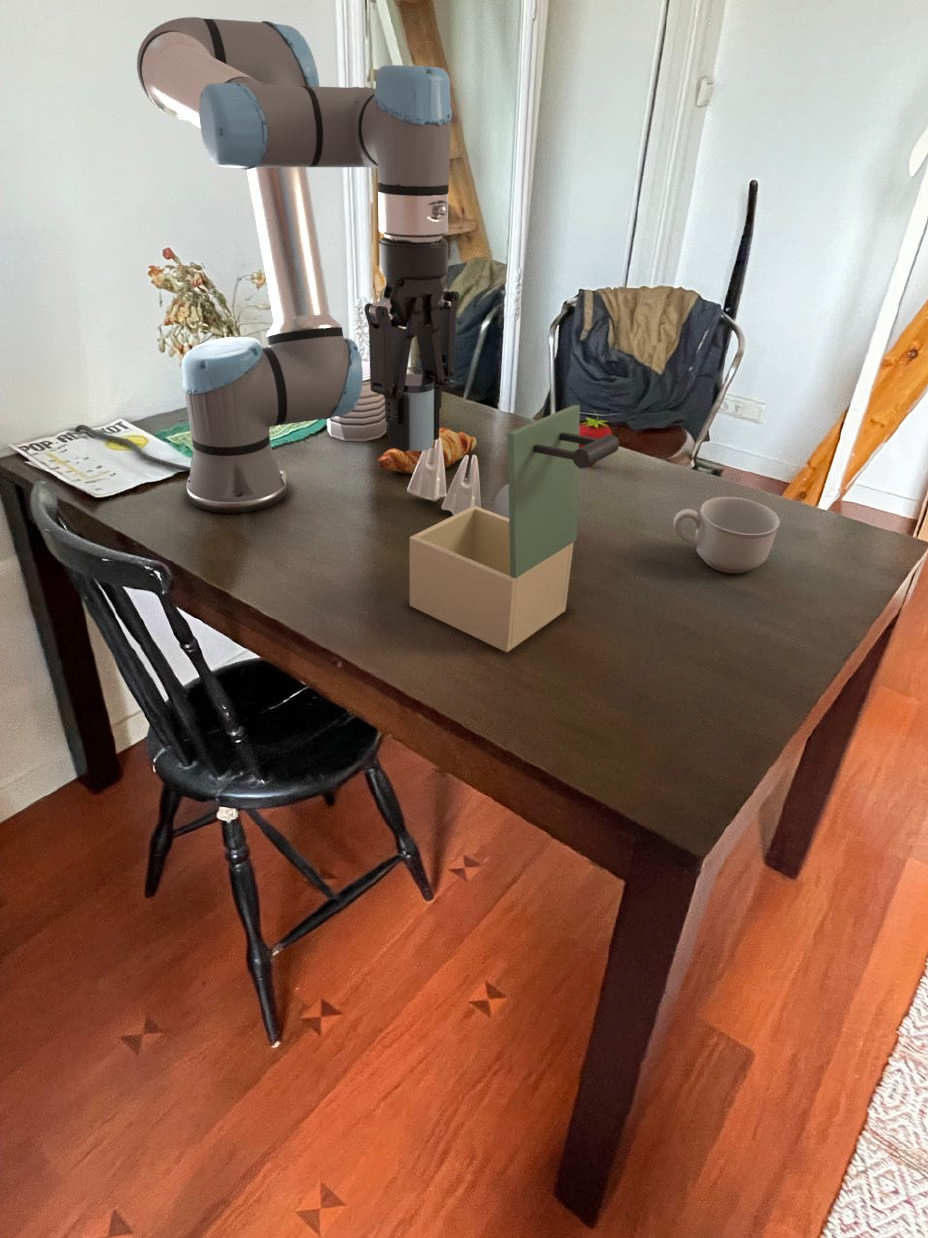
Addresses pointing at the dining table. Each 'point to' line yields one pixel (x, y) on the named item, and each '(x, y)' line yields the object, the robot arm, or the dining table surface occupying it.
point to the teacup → (731, 533)
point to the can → (361, 415)
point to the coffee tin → (420, 411)
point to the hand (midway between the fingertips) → (414, 441)
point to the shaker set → (433, 485)
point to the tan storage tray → (484, 580)
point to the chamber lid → (547, 485)
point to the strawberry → (593, 430)
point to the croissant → (451, 445)
